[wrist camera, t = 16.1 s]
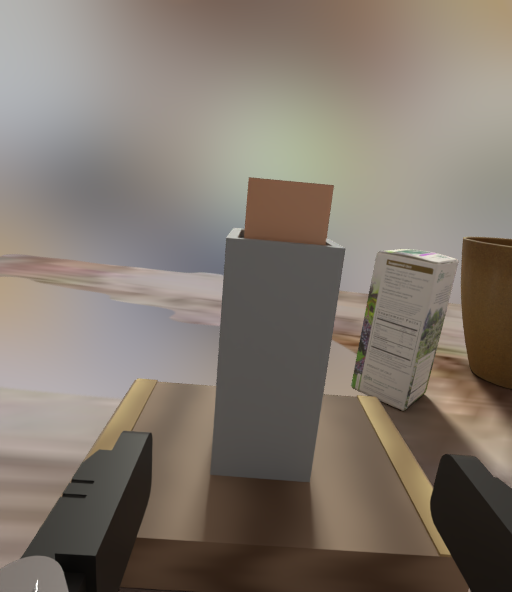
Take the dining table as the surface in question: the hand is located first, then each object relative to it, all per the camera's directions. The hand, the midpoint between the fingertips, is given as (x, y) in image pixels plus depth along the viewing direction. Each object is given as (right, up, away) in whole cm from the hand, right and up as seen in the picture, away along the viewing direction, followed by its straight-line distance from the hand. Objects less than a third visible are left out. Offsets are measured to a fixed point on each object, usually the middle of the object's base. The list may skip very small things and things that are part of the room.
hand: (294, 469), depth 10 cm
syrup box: (+13, -5, +28) cm, 31 cm away
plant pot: (+29, -5, +34) cm, 45 cm away
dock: (-1, -8, +14) cm, 16 cm away
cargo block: (0, +7, +10) cm, 12 cm away
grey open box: (-1, -5, +13) cm, 14 cm away
